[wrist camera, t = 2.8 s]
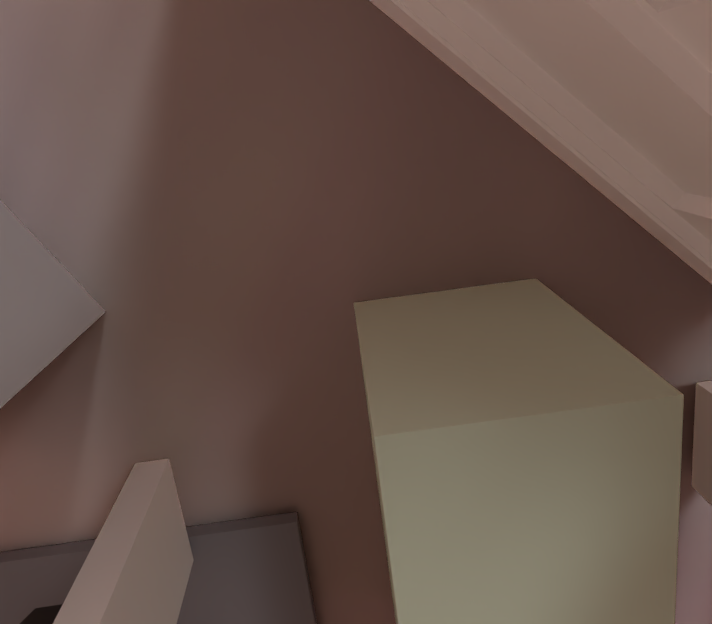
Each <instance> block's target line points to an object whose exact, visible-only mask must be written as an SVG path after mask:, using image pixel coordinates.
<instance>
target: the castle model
mask: <svg viewBox="0 0 712 624" xmlns="http://www.w3.org/2000/svg"><path fill="white" fill-rule="evenodd" d="M369 1H370V2H371V3H373V4H374V5H375V6H376V7H377V8H379V9H380V10H381V11H382V12H383V13H385V14H386V15H387V16H388V17H389V18H391V19H392V20H393V21H394V22H395V23H397V24H398V25H399V26H400V27H402V28H403V29H404V30H405V31H406V32H408V33H409V34H410V35H411V36H412V37H414V38H415V39H416V40H417V41H418V42H420V43H421V44H422V45H423V46H424V47H426V48H427V49H428V50H429V51H430V52H432V53H433V54H434V55H435V56H437V57H438V58H439V59H440V60H441V61H443V62H444V63H445V64H446V65H447V66H449V67H450V68H451V69H452V70H453V71H455V72H456V73H457V74H458V75H459V76H461V77H462V78H463V79H464V80H465V81H467V82H468V83H469V84H470V85H472V86H473V87H474V88H475V89H476V90H478V91H479V92H480V93H481V94H482V95H484V96H485V97H486V98H487V99H488V100H490V101H491V102H492V103H493V104H494V105H496V106H497V107H498V108H499V109H500V110H502V111H503V112H504V113H505V114H507V115H508V116H509V117H510V118H511V119H513V120H514V121H515V122H516V123H517V124H519V125H520V126H521V127H522V128H523V129H525V130H526V131H527V132H528V133H529V134H531V135H532V136H533V137H534V138H535V139H537V140H538V141H539V142H540V143H542V144H543V145H544V146H545V147H546V148H548V149H549V150H550V151H551V152H552V153H554V154H555V155H556V156H557V157H558V158H560V159H561V160H562V161H563V162H564V163H566V164H567V165H568V166H569V167H570V168H572V169H573V170H574V171H575V172H577V173H578V174H579V175H580V176H581V177H583V178H584V179H585V180H586V181H587V182H589V183H590V184H591V185H592V186H593V187H595V188H596V189H597V190H598V191H599V192H601V193H602V194H603V195H604V196H606V197H607V198H608V199H609V200H610V201H612V202H613V203H614V204H615V205H616V206H618V207H619V208H620V209H621V210H622V211H624V212H625V213H626V214H627V215H628V216H630V217H631V218H632V219H633V220H634V221H636V222H637V223H638V224H639V225H641V226H642V227H643V228H644V229H645V230H647V231H648V232H649V233H650V234H651V235H653V236H654V237H655V238H656V239H657V240H659V241H660V242H661V243H662V244H663V245H665V246H666V247H667V248H668V249H669V250H671V251H672V252H673V253H674V254H676V255H677V256H678V257H679V258H680V259H682V260H683V261H684V262H685V263H686V264H688V265H689V266H690V267H691V268H692V269H694V270H695V271H696V272H697V273H698V274H700V275H701V276H702V277H703V278H704V279H706V280H707V281H708V282H709V283H711V284H712V0H369Z"/></svg>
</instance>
